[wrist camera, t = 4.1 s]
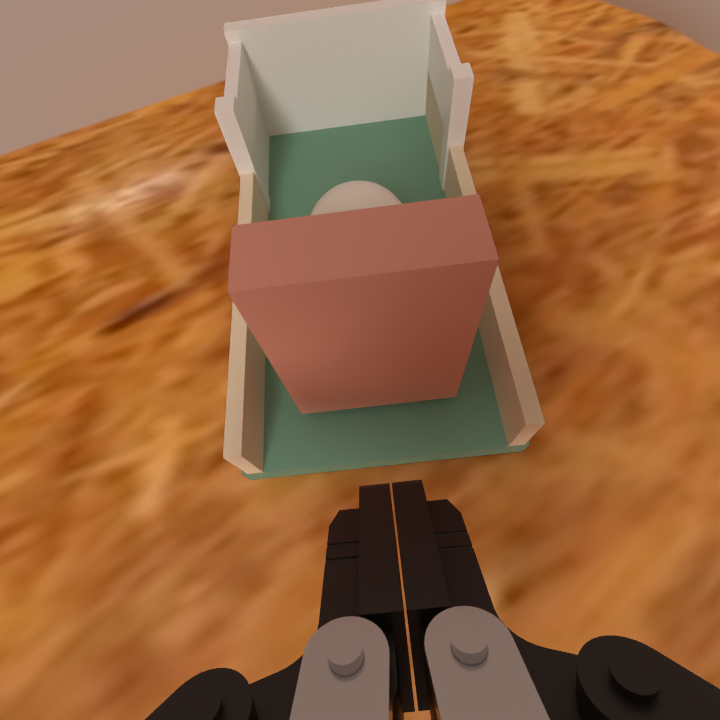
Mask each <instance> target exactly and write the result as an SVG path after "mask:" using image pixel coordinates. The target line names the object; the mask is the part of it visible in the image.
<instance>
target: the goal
mask: <svg viewBox="0 0 720 720" xmlns="http://www.w3.org/2000/svg"><path fill="white" fill-rule="evenodd" d="M445 12H446V0H379V1H373V2H366V3H359V4H352V5H345V6H338V7H332V8H324V9H317V10H310V11H304V12H297V13H290V14H283V15H276V16H269V17H262V18H255V19H248V20H242V21H235V22H229V23H224V31H223V32H224V35H225V38H226V41H227V44H228V47H229V51H228V61H227V70H226V71H227V72H226V80H225V90H224V97H217V98H216V100H215V108H214V114H215V116H216V119H217V121H218V124H219V126H220V129H221V131H222V134H223V136H224V139H225V141H226V143H227V146H228V148H229V151H230V153H231V156H232V158H233V161H234V163H235V166H236V168H237V171H238V173H239V176H240V178H241V174H244V173H251V172H254V175H255V178H256V181H257V183H258V186H259V189H260V192H261V194H262V197H263V200H264V203H265V205H266V208H267V211H268V213H269V212H270V197H269V194H268V191H269V139H270V136H275V135H282V134H290V133H297V132H305V131H312V130H320V129H327V128H334V127H342V126H349V125H357V124H364V123H371V122H379V121H386V120H394V119H401V118H409V117H416V116H423V115H425V112H426V94H427V76H428V72H429V76H430V79H431V83H432V87H433V90H434V94H435V98H436V101H437V105H438V108H439V112H440V116H441V119H442V123H443V126H444V129H443V139H442V149H441V159H440V170H439V180H440V184H441V188H442V190H444V186H445V177H446V168H447V160H448V151H449V146H456V145H462V146H463V149H464V142H465V135H466V129H467V122H468V115H469V109H470V102H471V95H472V88H473V82H474V75H473V72H472V69H471V66H470V63H462V64H461V62H460V59H459V56H458V54H457V51H456V48H455V45H454V42H453V39H452V36H451V33H450V30H449V27H448V24H447V21H446V19H445Z"/></svg>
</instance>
